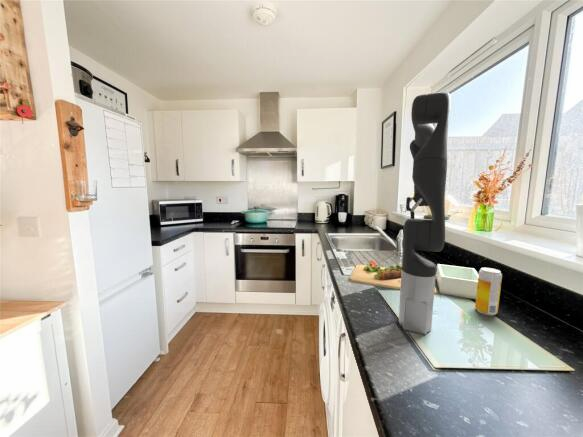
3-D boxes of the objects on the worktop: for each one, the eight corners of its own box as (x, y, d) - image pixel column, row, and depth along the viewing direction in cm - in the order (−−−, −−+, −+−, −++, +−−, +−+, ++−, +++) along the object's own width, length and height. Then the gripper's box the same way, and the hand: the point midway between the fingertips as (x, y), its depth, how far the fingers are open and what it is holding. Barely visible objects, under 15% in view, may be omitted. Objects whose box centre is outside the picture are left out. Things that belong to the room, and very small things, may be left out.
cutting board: (348, 282, 111) (349, 266, 110) (356, 267, 132) (357, 253, 131) (437, 297, 97) (438, 278, 96) (430, 277, 118) (431, 262, 117)
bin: (482, 300, 93) (484, 282, 92) (439, 293, 99) (441, 276, 98) (472, 283, 108) (474, 268, 108) (436, 278, 115) (437, 263, 114)
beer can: (487, 307, 87) (491, 266, 85) (502, 316, 81) (507, 273, 79) (470, 307, 87) (474, 267, 85) (484, 316, 81) (489, 273, 79)
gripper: (406, 183, 108) (407, 220, 108) (443, 181, 103) (444, 219, 103) (405, 185, 115) (405, 219, 115) (439, 183, 110) (440, 219, 110)
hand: (423, 219), depth 109 cm, fingers open, 8 cm apart
